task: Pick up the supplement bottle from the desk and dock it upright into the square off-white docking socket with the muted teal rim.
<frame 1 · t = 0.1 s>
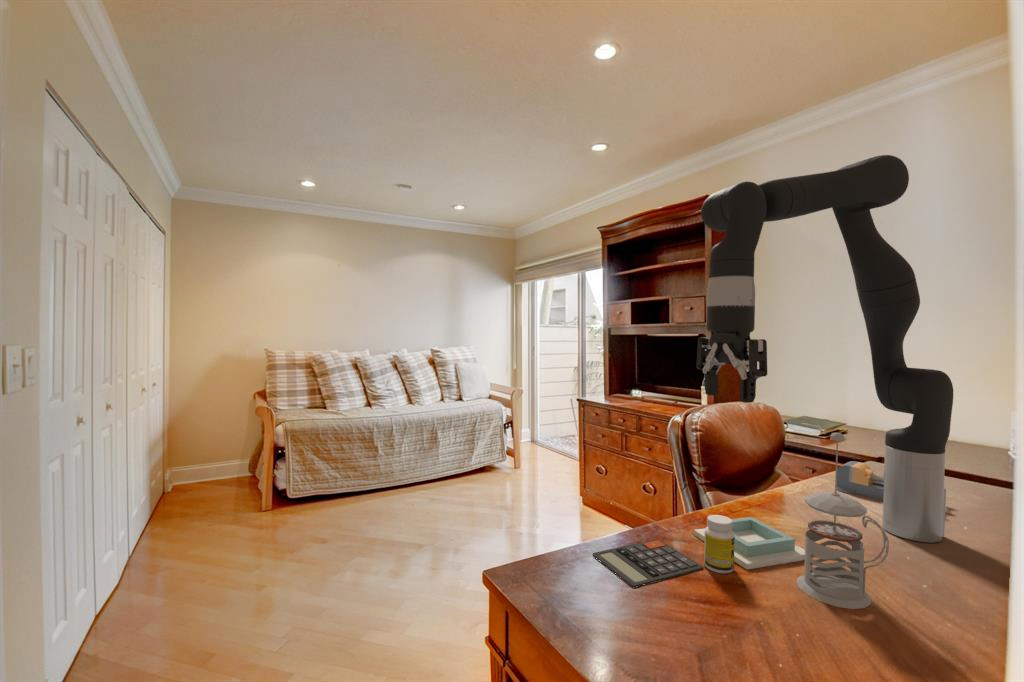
hand: (728, 398, 82), 29 cm above the table, tool pointing down, fingers open, 8 cm apart
dock socket: (749, 546, 90), on the table
calculator: (646, 565, 84), on the table
french press: (839, 592, 75), on the table
supplement bottle: (718, 568, 82), on the table
vise: (882, 497, 117), on the table
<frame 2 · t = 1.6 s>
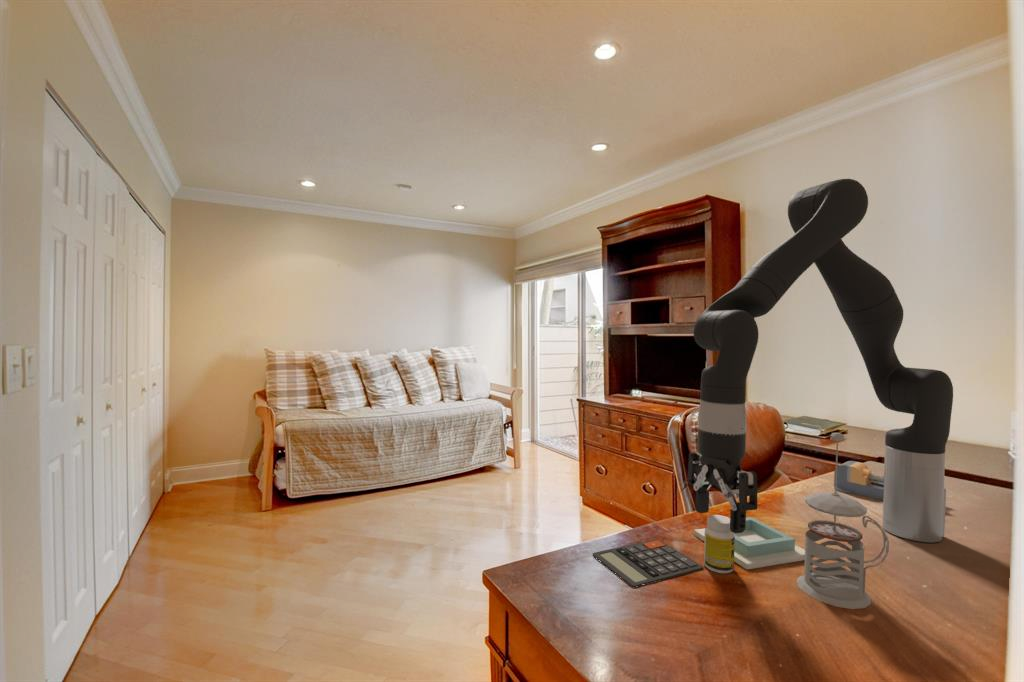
hand: (718, 521, 82), 8 cm above the table, tool pointing down, fingers open, 8 cm apart
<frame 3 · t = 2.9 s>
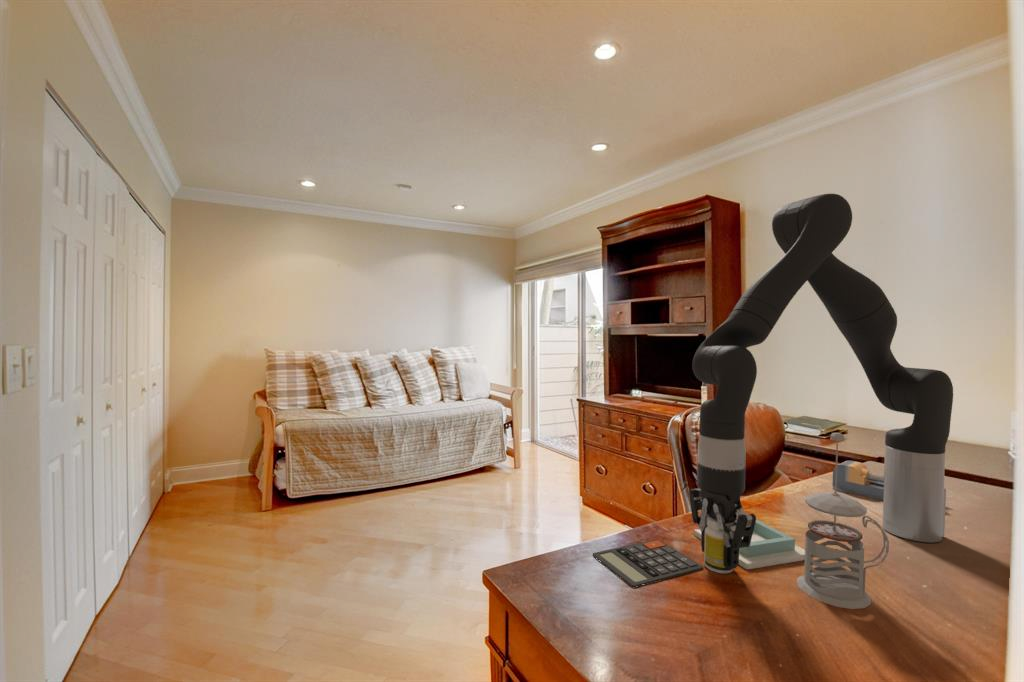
hand: (718, 559, 82), 1 cm above the table, tool pointing down, fingers closed on supplement bottle, 5 cm apart
supplement bottle: (718, 568, 82), on the table, touching gripper
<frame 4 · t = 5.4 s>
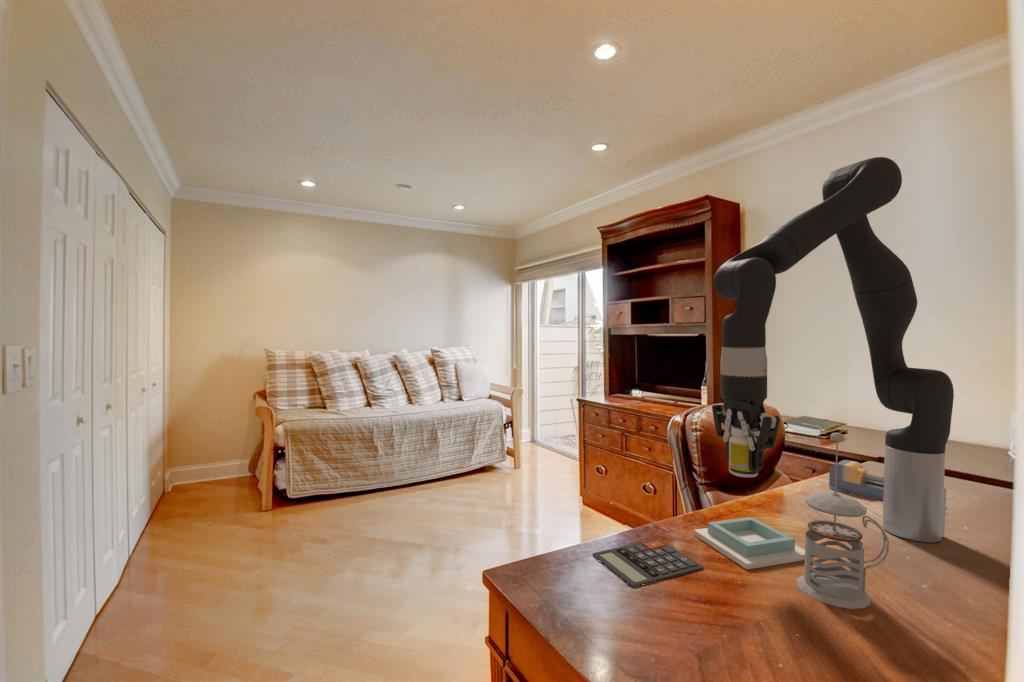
hand: (743, 466, 86), 16 cm above the table, tool pointing down, fingers closed on supplement bottle, 4 cm apart
supplement bottle: (743, 474, 86), point 15 cm above the table, touching gripper
when the fingers open (4 cm above the table, at t = 7.8 s): supplement bottle drops 2 cm, resting on dock socket.
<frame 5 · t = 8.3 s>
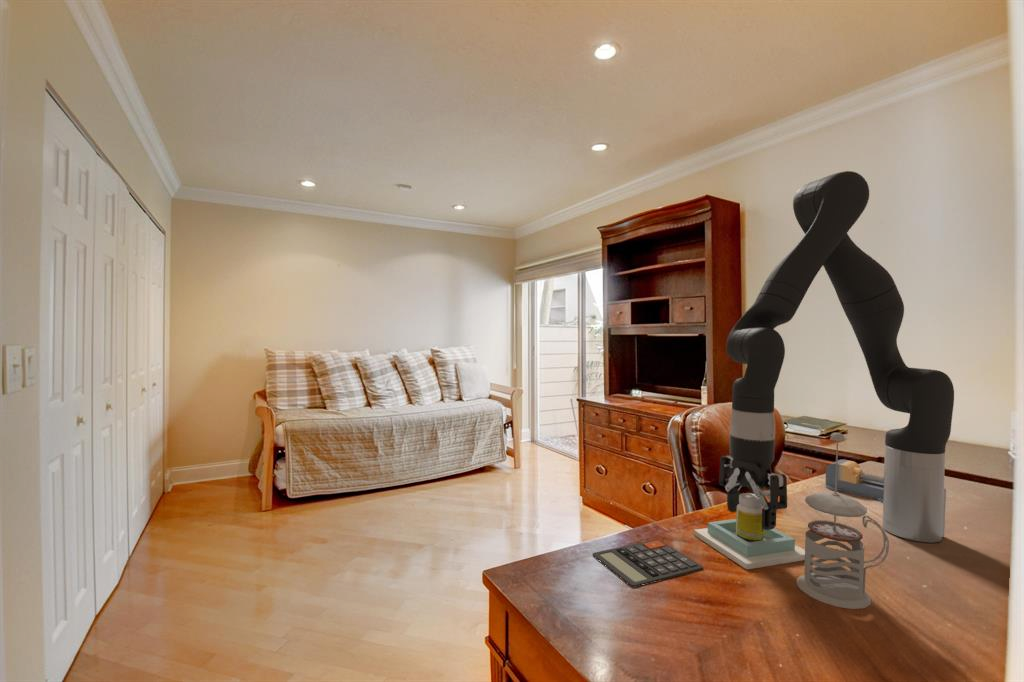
hand: (749, 519, 90), 5 cm above the table, tool pointing down, fingers open, 8 cm apart
supplement bottle: (749, 541, 90), point 1 cm above the table, touching dock socket
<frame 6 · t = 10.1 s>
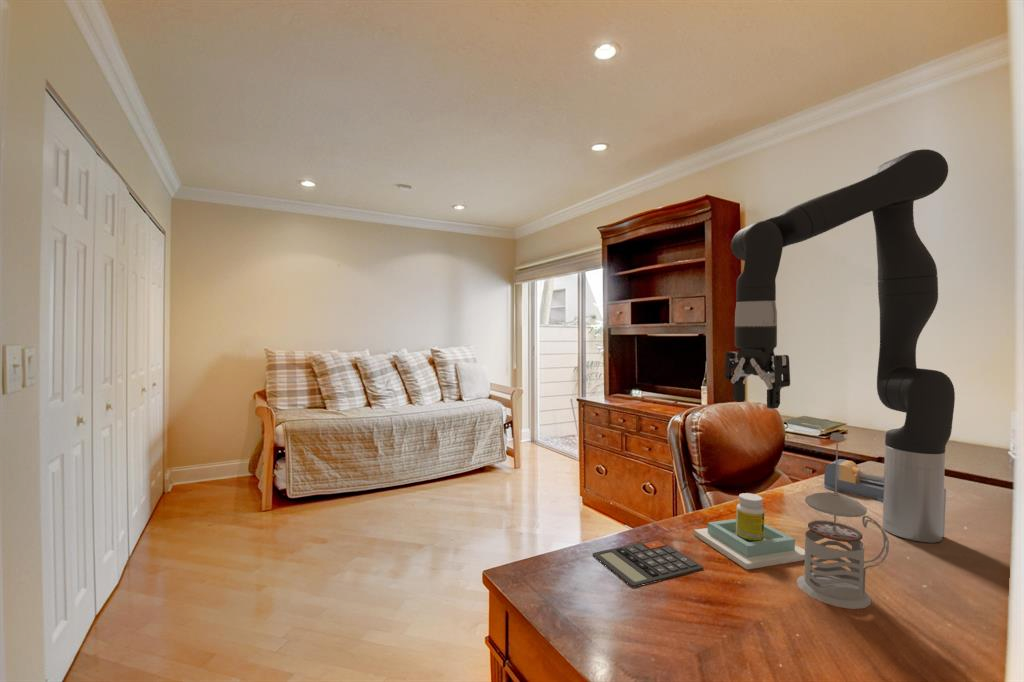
hand: (755, 404, 96), 26 cm above the table, tool pointing down, fingers open, 8 cm apart
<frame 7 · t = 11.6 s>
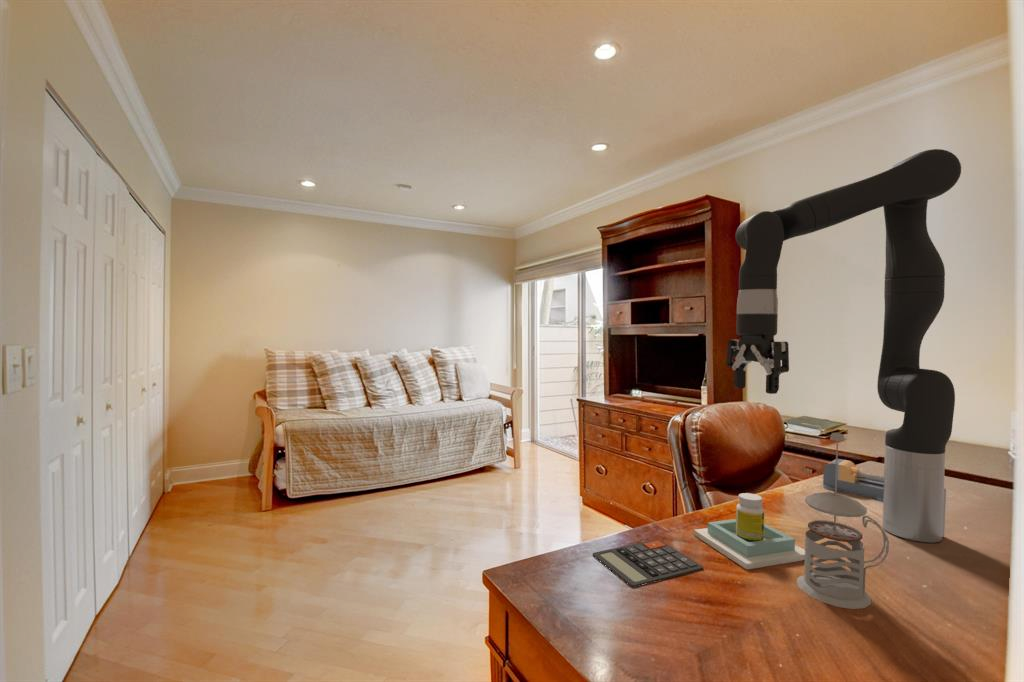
hand: (755, 390, 99), 28 cm above the table, tool pointing down, fingers open, 8 cm apart
at the end: supplement bottle 0.1 cm off-centre on the dock socket, point 0.8 cm above the dock socket's base; supplement bottle tilted 0°; the gripper is holding nothing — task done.
